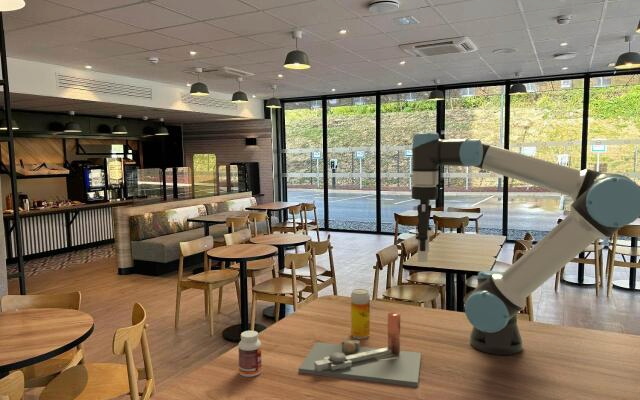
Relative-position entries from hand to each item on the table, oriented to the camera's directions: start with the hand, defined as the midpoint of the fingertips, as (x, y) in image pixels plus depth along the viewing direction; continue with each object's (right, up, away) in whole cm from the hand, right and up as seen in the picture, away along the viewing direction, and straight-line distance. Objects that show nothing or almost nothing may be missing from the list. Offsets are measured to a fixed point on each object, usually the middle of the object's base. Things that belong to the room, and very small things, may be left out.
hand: (423, 256), depth 141 cm
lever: (-20, -28, -8) cm, 36 cm away
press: (-19, -30, -7) cm, 36 cm away
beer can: (-18, -28, +13) cm, 35 cm away
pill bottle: (-50, -31, -11) cm, 60 cm away
